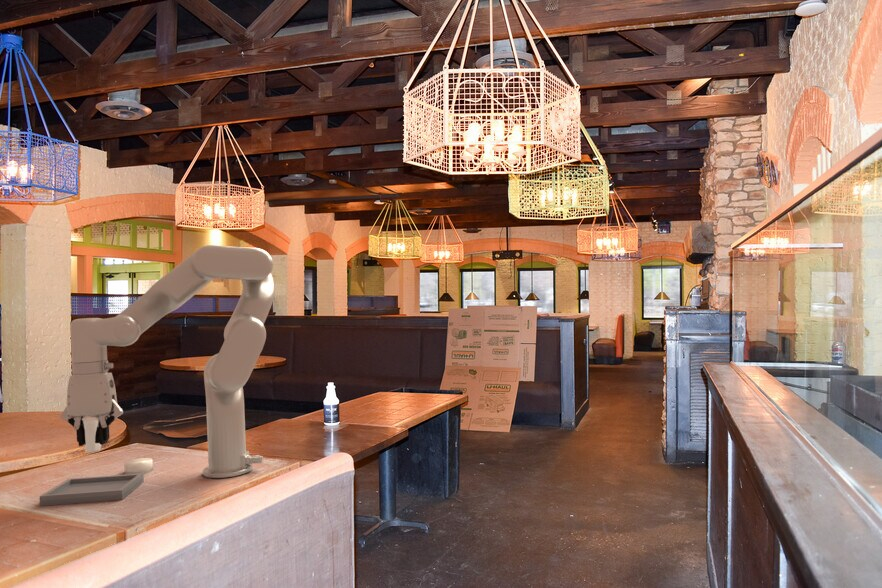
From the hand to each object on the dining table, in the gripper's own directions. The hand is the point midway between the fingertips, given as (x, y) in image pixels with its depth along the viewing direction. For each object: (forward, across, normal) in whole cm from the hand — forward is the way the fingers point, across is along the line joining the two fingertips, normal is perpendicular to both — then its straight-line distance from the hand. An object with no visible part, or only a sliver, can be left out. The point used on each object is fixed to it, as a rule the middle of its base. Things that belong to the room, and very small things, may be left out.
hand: (93, 443), depth 150 cm
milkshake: (+2, 0, 0) cm, 2 cm away
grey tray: (+12, 0, 0) cm, 12 cm away
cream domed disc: (+12, -4, -18) cm, 22 cm away
